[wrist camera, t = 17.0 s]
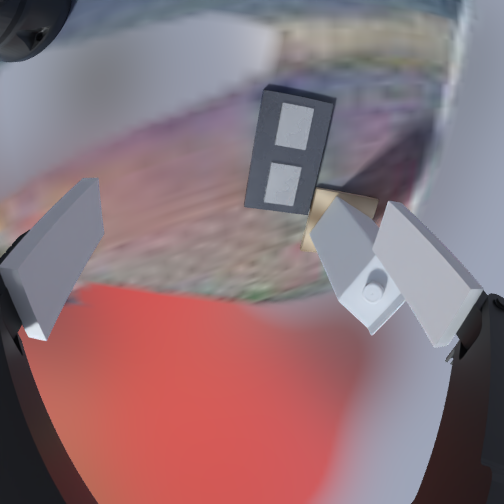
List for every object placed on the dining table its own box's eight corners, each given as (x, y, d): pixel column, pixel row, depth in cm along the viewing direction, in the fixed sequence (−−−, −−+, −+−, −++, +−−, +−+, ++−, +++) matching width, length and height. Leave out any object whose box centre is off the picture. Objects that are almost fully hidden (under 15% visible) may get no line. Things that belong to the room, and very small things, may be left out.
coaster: (315, 187, 42) (317, 189, 41) (376, 198, 43) (378, 200, 42) (299, 248, 47) (301, 250, 46) (357, 254, 48) (359, 257, 47)
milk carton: (370, 217, 44) (434, 297, 28) (343, 253, 47) (391, 342, 31) (336, 195, 42) (396, 273, 26) (308, 233, 45) (348, 326, 29)
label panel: (263, 89, 34) (264, 89, 33) (331, 103, 36) (334, 104, 34) (244, 204, 42) (244, 208, 41) (306, 212, 44) (308, 216, 42)
